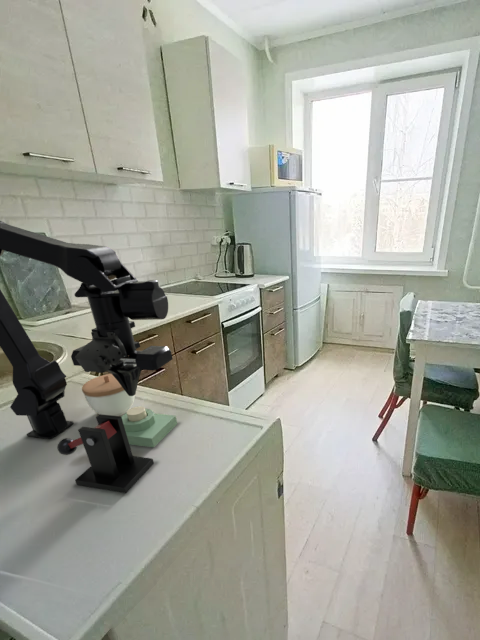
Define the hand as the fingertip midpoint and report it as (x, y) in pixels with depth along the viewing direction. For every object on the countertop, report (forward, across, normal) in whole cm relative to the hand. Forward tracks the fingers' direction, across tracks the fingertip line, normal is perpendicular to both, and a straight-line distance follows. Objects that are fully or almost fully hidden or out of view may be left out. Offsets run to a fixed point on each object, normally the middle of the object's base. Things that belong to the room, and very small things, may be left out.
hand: (132, 395), depth 72 cm
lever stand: (+9, +4, -13) cm, 16 cm away
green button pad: (+9, 0, 0) cm, 9 cm away
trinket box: (+9, -12, +7) cm, 17 cm away
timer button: (+5, 0, 0) cm, 5 cm away
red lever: (+3, 0, -13) cm, 13 cm away
